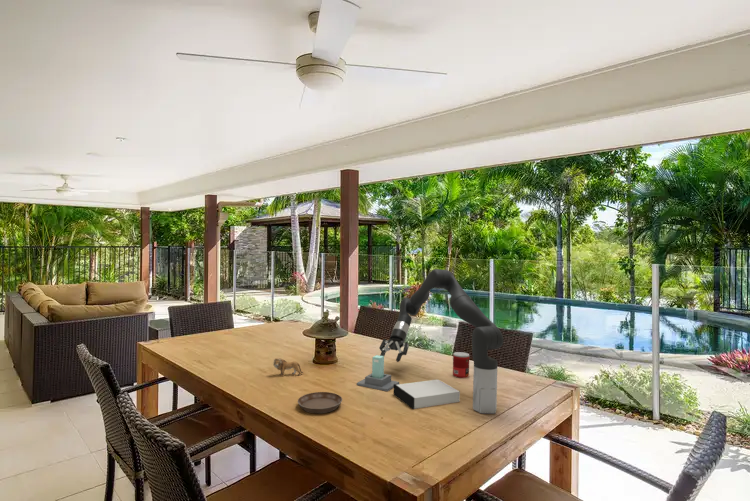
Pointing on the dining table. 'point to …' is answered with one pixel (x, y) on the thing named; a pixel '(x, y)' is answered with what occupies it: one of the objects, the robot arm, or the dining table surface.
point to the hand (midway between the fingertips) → (389, 359)
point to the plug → (378, 366)
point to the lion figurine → (286, 366)
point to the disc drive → (426, 393)
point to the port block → (378, 382)
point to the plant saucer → (319, 402)
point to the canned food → (461, 364)
